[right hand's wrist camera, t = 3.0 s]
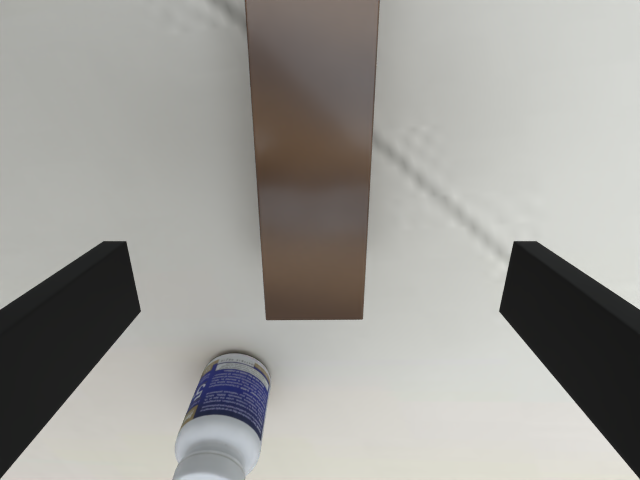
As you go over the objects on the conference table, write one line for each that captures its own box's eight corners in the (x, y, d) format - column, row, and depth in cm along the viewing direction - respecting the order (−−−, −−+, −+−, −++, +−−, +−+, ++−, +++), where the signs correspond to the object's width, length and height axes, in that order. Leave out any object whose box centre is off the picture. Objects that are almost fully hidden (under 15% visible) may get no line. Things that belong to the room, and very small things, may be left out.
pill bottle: (202, 348, 27) (152, 461, 19) (272, 353, 27) (254, 466, 19) (203, 402, 29) (159, 525, 21) (269, 406, 29) (251, 530, 21)
